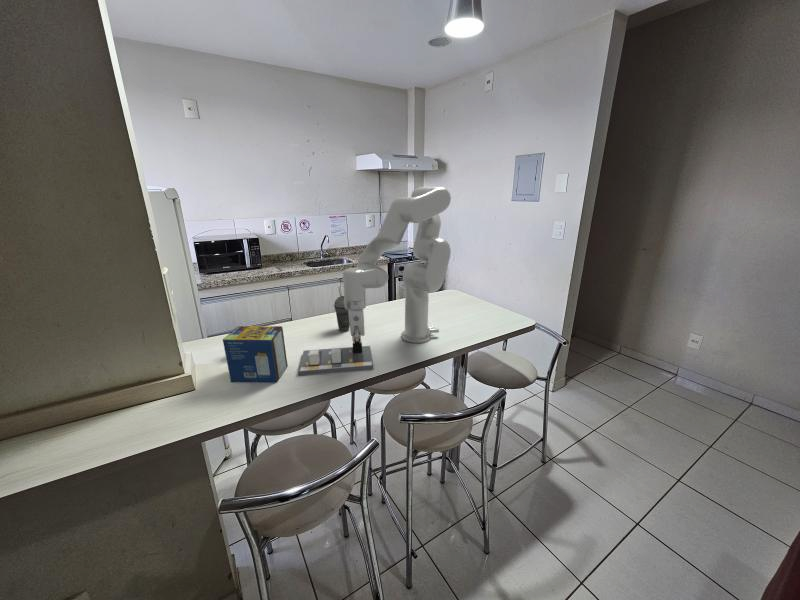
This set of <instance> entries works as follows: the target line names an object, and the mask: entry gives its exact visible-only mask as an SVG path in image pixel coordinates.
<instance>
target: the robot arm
mask: <svg viewBox="0 0 800 600" xmlns="http://www.w3.org/2000/svg"><path fill="white" fill-rule="evenodd" d="M451 199H452V197H451V194H450V191H449V190H448V189H447V188H445V187H443V186H420V187H417V188H415V189H413V191H412V193H411V197H410V196H399V197H397V198H394V199H393V201H392V202H391V204H390V206H389V209H388V211H387V213H386V216H385V217H384V220H383V222H382V224H381V228H380V229H379V232H378V233H377V235H376V236H375V237H373V239H372V240H371V241H370V242H369V243H368V244H367V245H366V246H365V248H364V249H363V250H362V252H361V253H360V256H359V258H358V260H357V264H356V266H355V267H348V268H346V269H344V271H343V273H342V283H343V296H344V303H345V309H347V310H348V313H349V325H350V327H349V331H350V336H351V338H352V347H353V353H362V346H363V342H362V337H364V336H365V335H366V334H365V331H366V330H365V314H364V309H365V308H367V302H366V301H367V298H366V296H367V295H366V289H380V288H383V287H384V286H386V285H387V283H388V282H389V281H388V280H389V274H388V272H387V270H385V268H383V267H380V266H379V265H376V264H377V262H378V260H379V259H380V257H381V256H382V255H383V254H385V253H386V252H388V251H390V250H392V249H394V248H396V247H399V245H400V244H401V242H402V240H403V238H404V235H405V233H406V230H407V228H408V227H409V224H411V223H413V224H418V225H417V231H416V234H415V235H416V236H415V239H414V242H413V247H412V253H413V254H412V255H413V256H414V257H415V258H416V259H418V260H421V261H424V262H427V264H425V263H421V262H410V263H408V264H406V266H405V267H404V268H403V272H402V280H403V287H404V330H403V331H402V332H401V333H400V337H401V339H402V340H403V341H405V342H408V343H413V344H421V343H422V344H423V343H426V342H428V341H430V340H431V339H432V334H433V333H435V334H437V333H438V334H439V333H440V329H439V328H438V327H435V326H429V325H428V324H429V298H430V297H429V293H436V292H438V291H439V290H440V289H441V287H442V285H443V284H444V280H445V276H446V273H447V270H448V266H449V263H450V260H451V246H450V243H449V242H448V241H447V240H446V239H443V238H440V237H439V235H440V230H441V225H442V222H441V221H442V220H441V216H440V214H441V213H443V212H445V210H447V209H448V208H449V206H450V204H451Z"/></svg>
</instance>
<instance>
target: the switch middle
mask: <svg viewBox="0 0 800 600" xmlns="http://www.w3.org/2000/svg"><path fill="white" fill-rule="evenodd" d="M337 348H338V349H332V348H331V349H332V363H341V348H342V347H337Z"/></svg>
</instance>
